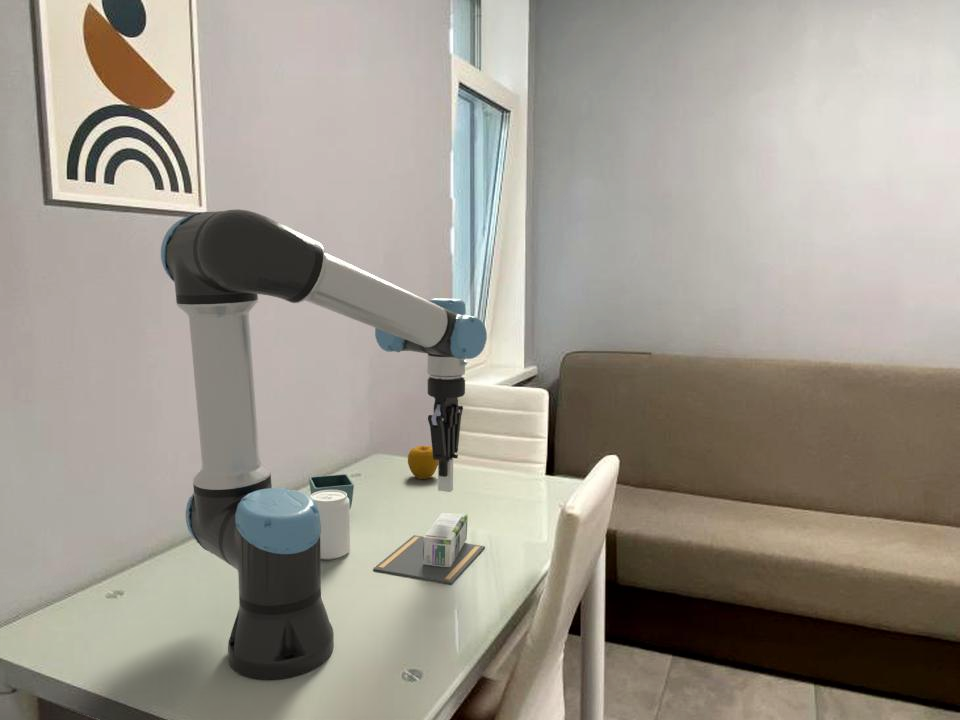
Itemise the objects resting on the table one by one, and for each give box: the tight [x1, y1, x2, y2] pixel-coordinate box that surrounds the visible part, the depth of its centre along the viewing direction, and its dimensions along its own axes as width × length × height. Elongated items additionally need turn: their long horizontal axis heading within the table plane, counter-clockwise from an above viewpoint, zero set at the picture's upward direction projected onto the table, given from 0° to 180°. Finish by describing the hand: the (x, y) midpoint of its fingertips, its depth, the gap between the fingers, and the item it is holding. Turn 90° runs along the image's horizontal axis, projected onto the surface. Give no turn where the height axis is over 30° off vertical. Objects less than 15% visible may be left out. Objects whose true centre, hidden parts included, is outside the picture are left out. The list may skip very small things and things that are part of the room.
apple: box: [407, 445, 438, 480], centre depth 193 cm, size 8×8×9 cm
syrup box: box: [423, 512, 468, 567], centre depth 141 cm, size 6×6×14 cm
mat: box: [372, 534, 486, 585], centre depth 139 cm, size 18×16×1 cm
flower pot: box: [308, 473, 355, 509], centre depth 160 cm, size 9×9×9 cm
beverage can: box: [309, 490, 351, 560], centre depth 141 cm, size 8×8×12 cm
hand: (445, 490), depth 144 cm, fingers closed
